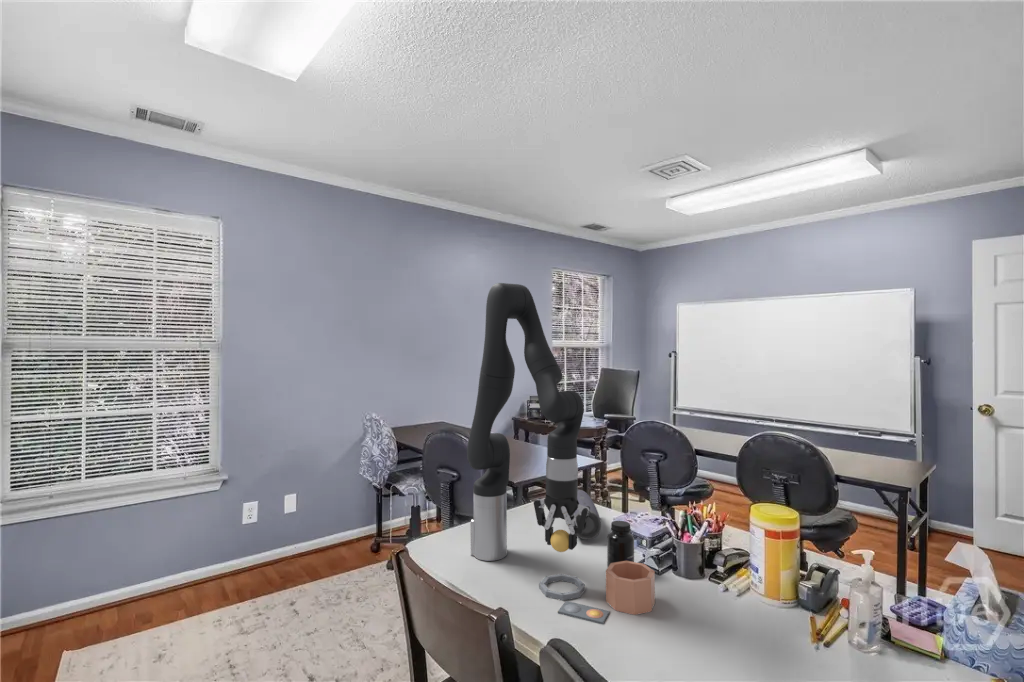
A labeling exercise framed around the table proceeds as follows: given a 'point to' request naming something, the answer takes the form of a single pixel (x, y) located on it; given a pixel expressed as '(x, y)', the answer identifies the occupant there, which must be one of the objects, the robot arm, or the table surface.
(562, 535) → the ball
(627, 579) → the octagonal planter pot
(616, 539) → the supplement bottle
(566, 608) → the card
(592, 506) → the bluetooth speaker
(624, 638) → the table surface
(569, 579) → the gray octagonal ring
